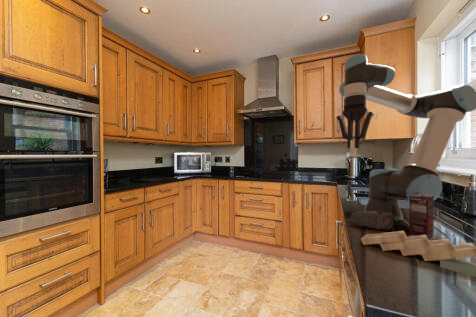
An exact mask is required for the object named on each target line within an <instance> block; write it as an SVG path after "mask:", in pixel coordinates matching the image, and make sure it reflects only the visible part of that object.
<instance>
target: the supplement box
mask: <svg viewBox="0 0 476 317" xmlns="http://www.w3.org/2000/svg"><path fill="white" fill-rule="evenodd" d="M433 197H434V196H433V195H426V194H414V195H411V196H410V201H409V213H408V215H409V216H408V218H409V219H408V220H409V222H408V237H410V236H418V235H426V236H427V238H428V240H429V241H431V240H434V201H433Z"/></svg>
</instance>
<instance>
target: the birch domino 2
mask: <svg viewBox="0 0 476 317" xmlns="http://www.w3.org/2000/svg"><path fill="white" fill-rule="evenodd" d="M379 245H380V247H381V249H382V251H383V252H386V251H394V250H400V249H407V248H418V247H428V246H430V243H429V240H428V238H427V236H426V235H418V236H410V237H409V236H407V238H406V240H405V241H404V242H391V243H379Z"/></svg>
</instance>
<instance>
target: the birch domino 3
mask: <svg viewBox="0 0 476 317" xmlns="http://www.w3.org/2000/svg"><path fill="white" fill-rule="evenodd" d="M429 243H430V246H428V247H418V248H407V249H399V250H400V252H401V255H402V256H416V255H422V254H428V253H439V252H450V251H455V250H454V248H453V246H452V245H453V244H452V243H451V241H450V239H449V238H441V239H440V238H439V239H433V240H431V241H429Z"/></svg>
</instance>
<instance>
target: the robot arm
mask: <svg viewBox="0 0 476 317" xmlns="http://www.w3.org/2000/svg"><path fill="white" fill-rule="evenodd" d="M395 76H396V71H395V68H394V67H392V66H389V65H386V64H385V65H384V64H376V63H369V60H368V56H366V54H355V55H351V56H350V57H349V58H347V59H346V60H345V65H344V81H343V82H341V84H340V85H339V90H338V91H339V93H340V95H341V96H342V97H344V100H343V111H342V113H341V114H340V115H337V116H336V120H337V121H338V124H339V127H340V132H341V136H342V139H344V140H347V149H349V157H352V158H357V151H358V149H360V144H361V142H360V141H361V140H362V139H365V138H366V136H367V133H368V129H369V126H370V123H371V120H372V118H373V117H374V116H375V114H374V112H373V111H369V110H368V108H367V101H369V102H372V103H375V104H378V105H381V106H385V107H387V108H390V109H393V110H396V111H397V113H399V114H401V115H404V116H409V117H413V118H419V119H429V120H428V122H427V124H426V126H425V128H424V130H423V133H422V135H421V137H420V139H419V142H418V145H417V147H416V148H415V151H414V153H413V156H412V158H411V159H410V162H409V163H408V164H406V165H405V164H404V166H403V167H402V169H401V171H400V169H398V168H384V169H383V168H382V169H381V168H380V169H372V170H371V171H370V172H369V176H368V177H369V178H368V200H367V202H366V204H365V207H364V210H363V211H377V212H385V213H392V214H393V215H394V216H395V218H394V220H395V221H394V222H400V221H399V220H401V221H403V217H404V216H403V213H402V209H401V207H400V204H399V199H400V200H406V201H409V202H410V196H411V195H414V194H426V195H433V196H434V197H433V202H434V201H436V200H437V199H438V198H439V197H440V196H441V194H442V192H443V186H442V185H443V182H442V180H441V178H440V177H439V176H440V174H439V172H437V168H438V166H439V164H440V162H441V159H442V156H443V155H444V152H445V150H446V147H447V145H448V142H449V141H450V138H451V135H452V134H453V131H454V129H455V126H456V124H457V123H458V122H461V121H463V120H464V118H465V116H466V114H467V112H468V113H470V112H473V111H475V110H476V90H475V88H474V87H472V86H471V85H470V84H459V85H453V86H452V87H448V88H444V89H441V90H437V91H433V92H430V93H425V94H419V95H415V94H411V93H410V94H406V93H402V92H399V91H397V90H394V89H390V88H388V87H385V86H388V85H390V84H391V83H392V82H394V78H395ZM364 116H365V118H364ZM363 118H364V121H363V124H362V127H361V123H362V119H363ZM345 119H346V121H347V128H346V123H345Z"/></svg>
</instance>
